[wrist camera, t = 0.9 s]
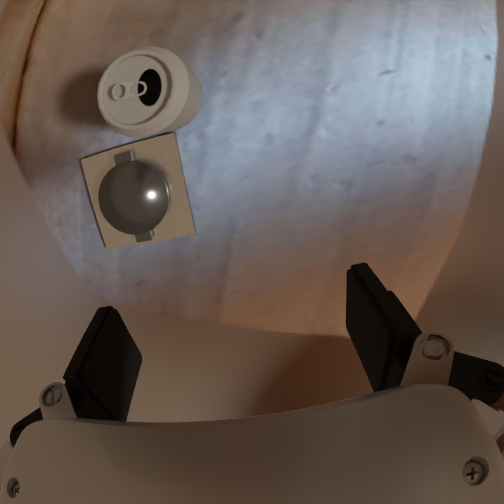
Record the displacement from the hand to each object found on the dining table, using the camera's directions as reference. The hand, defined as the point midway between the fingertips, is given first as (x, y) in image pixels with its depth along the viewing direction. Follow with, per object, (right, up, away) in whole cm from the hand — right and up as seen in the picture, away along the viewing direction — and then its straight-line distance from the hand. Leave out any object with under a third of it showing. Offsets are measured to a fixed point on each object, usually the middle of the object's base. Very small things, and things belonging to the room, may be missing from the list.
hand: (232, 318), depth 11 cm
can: (-8, +19, +16) cm, 27 cm away
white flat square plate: (-13, +9, +21) cm, 26 cm away
